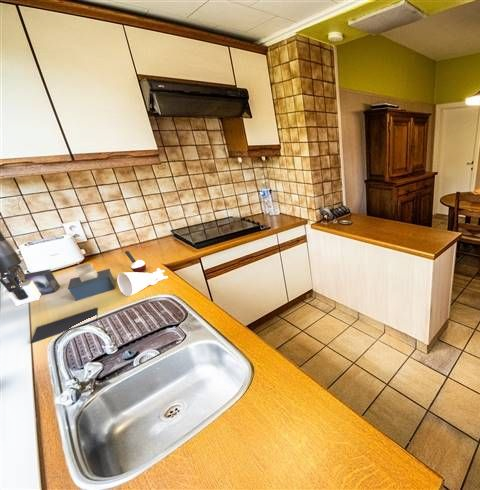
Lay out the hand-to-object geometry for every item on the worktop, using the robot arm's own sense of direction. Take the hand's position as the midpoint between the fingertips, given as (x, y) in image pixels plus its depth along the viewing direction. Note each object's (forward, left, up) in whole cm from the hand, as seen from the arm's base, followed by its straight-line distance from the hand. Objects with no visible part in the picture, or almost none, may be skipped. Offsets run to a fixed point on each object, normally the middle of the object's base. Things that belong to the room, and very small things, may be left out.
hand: (25, 295), depth 98 cm
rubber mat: (+5, 0, -16) cm, 17 cm away
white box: (0, 0, -2) cm, 2 cm away
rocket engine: (+33, +11, -17) cm, 38 cm away
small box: (-7, +46, -17) cm, 49 cm away
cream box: (+13, +28, -9) cm, 32 cm away
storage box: (+13, +28, -16) cm, 35 cm away
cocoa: (+31, +36, -17) cm, 50 cm away
